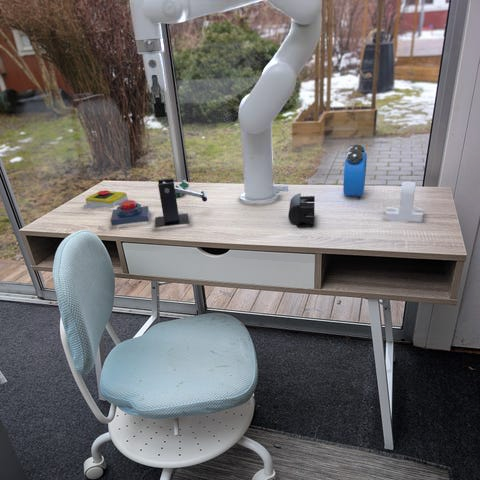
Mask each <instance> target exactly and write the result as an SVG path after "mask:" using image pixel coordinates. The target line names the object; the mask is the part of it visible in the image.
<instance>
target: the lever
mask: <svg viewBox="0 0 480 480" xmlns="http://www.w3.org/2000/svg"><path fill="white" fill-rule="evenodd" d="M163 183H167V182H163ZM174 188H175V192H178V193H181V194H182V195H187V196H192V197H196V198H200V199H201V200H202V202H204V203H205V202H207V201H208V197H207V193H206V191H204V190H202V191H201V192H196V191H192V190H189V189H185V190H184V189H180V188H176V186H175V187H174Z"/></svg>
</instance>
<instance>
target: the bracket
mask: <svg viewBox="0 0 480 480" xmlns="http://www.w3.org/2000/svg"><path fill="white" fill-rule="evenodd" d="M163 182H167V183H163ZM157 183H158V184H157V187H158V193H159V199H160V205H161V210H162V211H161V212H162V215H161V216H154V217H155V218H154V228H163V227H170V226H171V227H172V226H180V225H188V224H190V219H189V213H179V207H178V201H177V196H176V193H175V188H174V187H176V185H175V180H174V177H171V178H162V179H158V180H157Z"/></svg>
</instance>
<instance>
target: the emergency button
mask: <svg viewBox="0 0 480 480" xmlns="http://www.w3.org/2000/svg"><path fill="white" fill-rule="evenodd" d="M128 200H129V197H128V195H127V192H125V191H124V192H122V191H113V190H107V189H105V190H99V191H97V192H95V193H93V194H91V195H89V196H87V197H85V204H83V208H85V209H90V210H91V209H92V210H96V209H101V208H102V209H103V208H108V209H112V208H116V207H119V206H120V205H121V203H122V202H124V201H128Z"/></svg>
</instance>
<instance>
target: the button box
mask: <svg viewBox="0 0 480 480" xmlns="http://www.w3.org/2000/svg"><path fill="white" fill-rule="evenodd" d="M135 203H136V208H134V209H131V210H122V208H121V205H119V206H116V209H112V213H111V217H110V223H111V224H110V225H111V226H119V225H129V224H134V223H135V224H137V223H143V222H149V220H150V219H149V218H150V209H149V208H150V207H149V205H143V206H142V204H140V203H138V202H135Z"/></svg>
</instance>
